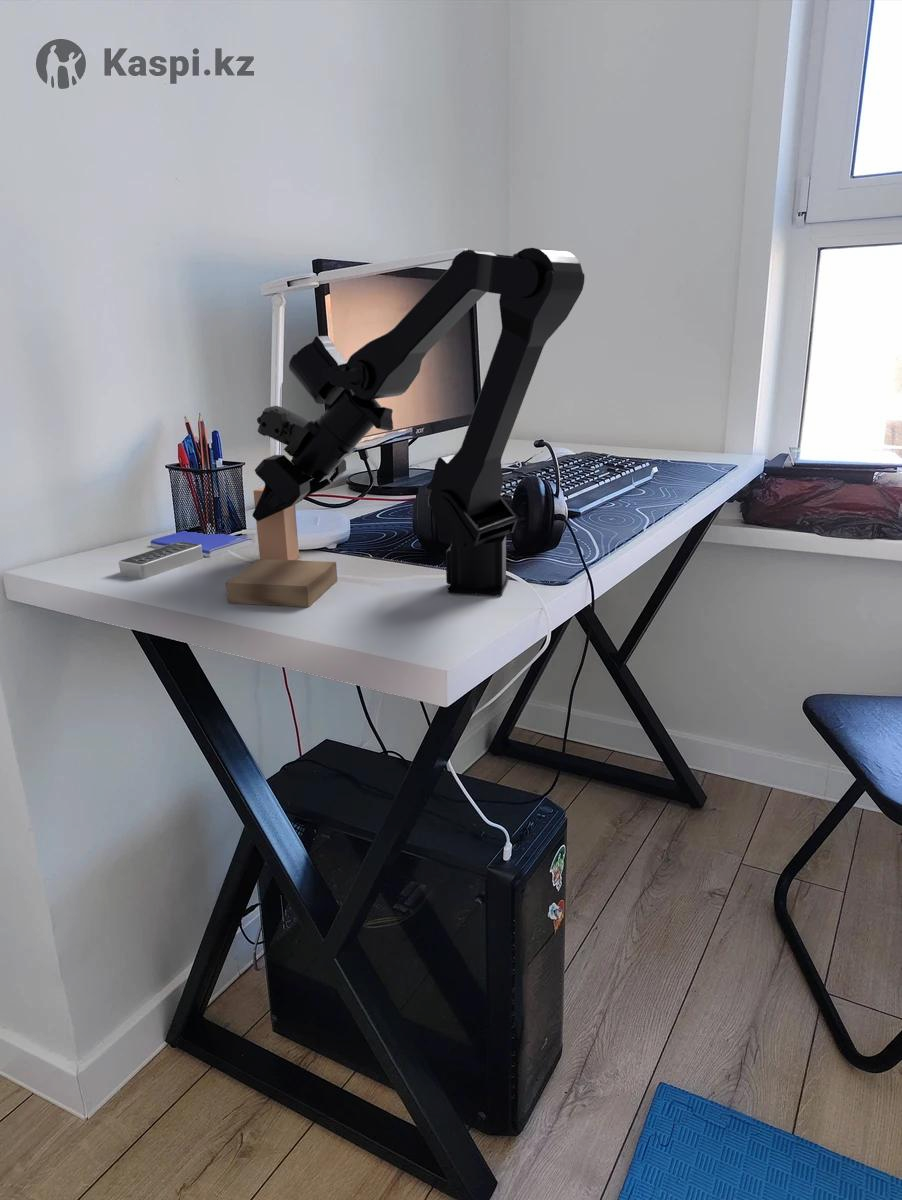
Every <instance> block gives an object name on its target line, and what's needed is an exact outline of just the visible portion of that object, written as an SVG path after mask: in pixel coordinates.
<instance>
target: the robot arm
mask: <svg viewBox="0 0 902 1200" xmlns="http://www.w3.org/2000/svg"><path fill="white" fill-rule="evenodd" d="M585 276H586V275H585V273H584V271H583V268H582V264H581V262H580V261H579V260H578V258H577V256H575V255H574V254H573V253H571V252H570V251H567V250H564V249H555V248H554V249H553V248H541V247H539V248H538V247H527V248H523V249H521V250H520V251H518V252H517V253H514V254H513V255H505V254H498V253H494V252H492V251H488V250H478V249H466V250H462V251H461V252H459V253H458V254H456V255H455V256H454V258H453V260H452V262H451V265H450V266H449V267H448V268H447V269H446V271H444V273H442V275H441V276H440V277H439V278H438V279H437V280H436V282H434V284H433V285H432V286H431V287H430V288H429V289H428V290H427V292H425V293H424V295H423V296H422V297H421V298H420V299H419V300H418V301H417V302H416V303H415V304H414V306H413V307H411V309H410V310H409V311H408V312H407V313H406V314H405V315H404V316H403V317H402V319H400V321H399V322H398V323H397V324H396V325H395V326H394V327H393V328H392V329H391V330H389V331H387V333H385V334H383V335H381V336H379V337H377V338H375V339H373V340H370V341H368V342H367V343H366V344H365V345H363V346H361V347H360V348H359V349H358V350H357V351H355V352H354V353H352V354H351V355H350V356H349V357H348V359H347V360H346V358H344V356H343V355H342V354H341V353H340V351H339V350H338V349H337V348H336V346H335V344H334V342H333V340H331V338H330V337H329V336H328V335H316V336H314V339H313V340H312V342H311V343H308V344H306V345H304V346H303V347H301V348H300V349H299V350H298V351H297V353H294V354H293V355H292V357H291V358H290V360H289V363H288V368H289V371H290V372H291V373H292V375H293V376H294V377H295V379H296V380H297V381H298V383H300V385H301V387H303V389H304V390H305V391H306V393H308V395H309V396H310V397H311V399H312V400H313V401H314V402H315V404H317V405H324V404H326V405H329V407H328V408H327V409H326V410H325V411H324V412H323V413H322V414H321V416H319V418H317V419H316V420H314V421H312V420H310V421H309V420H308V419H306V418H305V417H303V416H301V415H300V414H296V413H295V412H293V411H292V410H291V411H290V410H288V409H286V408H284V407H282V406H279V405H272V406H269V407H265V408H264V410H263V411H262V414H261V415H260V416H258V417H257V418H256V422H257V424H259V425H258V427H257V433H258V434H259V435H261V436H264V437H267V436H268V437H269V438H271V439H272V440H275V441H277V442H279V443H281V444H284V445H286V446H285V448H284V449H283V450H284V451H285V452H286V454H287V455H289V456H290V457H291V458H292V459H291V460H290V459H289V458H288V457H287V456H286V455H285V454H274V455H272V456H268V457H266V458H264V459H262V460H261V462H260V463H259V464H258V465H257V466H256V468H255V469H254V472H255V475H256V476H257V477H258V478H259V479H261V480H262V481H263V483H264V485H265V487H264V490H263V492H262V495H261V497H260V499H259V501H258V504H257V506H256V508H255V507H254V510H253V513H252V517H253V518H254V520H255V521H256V520H257V521H260V520H262V519H264V518H266V517H269V516H271V515H273V514H275V513H277V512H279V511H282V510H284V509H286V508H288V507H290V506H293V505H295V506H296V505H297V504H299V503H301V502H302V501H304V500H303V499H304V498H306V497H308V496H310V495H312V494H314V493H316V492H318V491H320V490H323V489H324V488H326V487H328V486H330V484H331V483H333V482H336V481H337V480H339V478H341V476H342V475H344V474H345V473H346V471H347V461H346V459H345V458H346V457H348V456H350V455H352V454H353V453H354V452H355V451H356V446H357V445H358V444H359V443H360V442H361V441H362V440H363V438H365V436H366V435H367V434H368V433H369V432H370V431H371V430H372V429H373V428H374V427H375V429H377V430H381V431H386V432H387V431H388V432H392V431H393V430H394V422H393V412H394V411H393V409H392V408H389V407H386V406H382V405H381V404H380V403H379V402H378V401H377V400H379V399H384V398H392V397H397V396H401V395H403V394H405V392H407V390H409V388H410V386H411V385H412V383H413V382H414V381H415V380H416V378H417V376H418V375H419V373H420V370H421V366H422V363H423V359H424V358H425V356H426V355H427V353H428V352H429V351H430V350H431V349H432V348H433V347H434V346H435V345H436V344H437V343H438V342H439V341H441V339H442V338H443V337H444V336H445V335H446V334H447V333H448V332H449V331H450V330H451V329H452V328H453V327H454V326H455V325H456V324H457V323H458V322H459V321H460V320H461V318H463V317H464V315H466V314H467V313H468V312H469V310H470V309H472V307H474V305H476V304H477V302H478V301H479V300H480V299H481V298H482V297H483V296H484V295H485V294H486V293H491V294H498V295H499V299H498V302H499V303H498V304H499V310H500V320H501V322H500V323H501V331H500V335H499V337H498V340H497V343H496V347H495V348H494V352H493V355H492V358H491V361H490V363H489V367H488V369H487V371H486V376H485V378H484V380H483V384H482V387H481V389H480V391H479V395H478V397H477V400H476V401H477V402H476V404H475V407H474V409H473V411H472V415H471V418H470V420H469V423H468V426H467V430H466V432H465V435H464V438H463V441H462V444H461V447H460V448H459V450H458V451H457V452H456V453H454V454H453V453H452V454H448V455H444V456H441V457H438V458H437V460H436V462H435V465H434V470H433V476H432V478H431V480H430V482H429V483H428V484H427V485H426V490H430V491H429V494H428V498H427V499H428V504H427V505H428V507H429V508H430V510H431V513H432V515H433V518H434V522H435V524H436V528H437V531H438V534H439V537H440V540H441V543H443V544H446V545H447V544H448V545H449V547H448V549H447V550H446V551H445V571H446V572H445V575H446V576H445V577H446V584H447V585H449V586H448V587H447V593H448V594H461V595H462V594H463V595H482V596H483V595H485V596H502V595H503V593H504V591H505V589H506V586H507V584H508V582H509V579H510V578H509V576H508V575H507V534H512V533H513V534H514V532H515V528H516V526H517V522H518V521H519V518H518V516H517V515H516V513H515V511H513V510H512V508H511V507H510V505H509V504H508V503H507V502H506V500H505V499H504V498H503V497H502V495H501V494H502V489H503V484H504V476H503V469H502V457H503V454H504V452H505V450H506V446H507V444H508V441H509V439H510V436H511V433H512V431H513V428H514V425H515V422H516V419H517V418H518V415H519V413H520V410H521V407H522V404H523V402H524V399H525V396H526V394H527V391H528V388H529V386H530V384H531V381H532V378H533V375H534V373H535V370H536V367H537V365H538V362H539V359H540V358H541V354H542V352H543V349H544V347H545V344H546V343H547V342H548V340H549V339H550V338H551V336H552V335H553V334H555V332H556V331H557V330H558V328H559V327H560V326H561V325H563V323H564V322H565V321H566V320H567V318H568V317H569V314H570V313H571V311H572V310H573V308H574V306H575V304H576V303H577V301H578V299H579V297H580V295H581V293H582V291H583V289H584V285H585ZM328 478H329V479H328ZM475 522H477V523H478V524H476V523H475Z"/></svg>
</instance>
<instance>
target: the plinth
mask: <svg viewBox="0 0 902 1200" xmlns="http://www.w3.org/2000/svg"><path fill="white" fill-rule="evenodd" d="M337 582H338V569H337V562H336V561H326V560H323V561H320V560H299V559H298V560H297V559H296V560H277V559H260V558H259V560H257V561H256V562H254V563H253V564H251V565H249V566H248V567H247V568H245V569H243V570H242V571H241V572H239V573H237V574H236V575H234V577H232V578H231V579H228V580H227V581H226V582H225V587H226V588H225V589H226V596H227V603H228V604H239V605H240V604H242V605H243V604H245V605H261V606H262V605H263V606H279V607H280V606H282V607H301V608H309V607H311V606H312V605H313V604H314V603H315V602H317V601H318V599H320V598H321V596H323V595H324V594H325V593H326V592H328V590H330V589H331V587H333V586H334V585H335V584H336V583H337Z"/></svg>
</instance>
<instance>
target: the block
mask: <svg viewBox="0 0 902 1200" xmlns="http://www.w3.org/2000/svg"><path fill="white" fill-rule="evenodd" d="M264 487H265V484H264V485H262V486H260V487H258V488H256V489H254V490H253V501H254V502H253V503H254V509H255V508H256V506H257V504H258V501H259V499H260V497H261V495H262V492H263V490H264ZM255 522H256V533H257V542H258V543H257V544H258V551H259V552H258V553H259V560H260V559H277V560H297V559H299V558H300V551H299V538H298V537H299V536H298V525H297V524H298V523H297V513H296V504H295V505H293V506H290V507H288V508H286V509H284V510H282V511H279V512H277V513H275V514H273V515H271V516H269V517H266V518H264V519H262V520H260V521H257V520H256V519H255Z"/></svg>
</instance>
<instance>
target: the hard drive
mask: <svg viewBox="0 0 902 1200" xmlns="http://www.w3.org/2000/svg"><path fill="white" fill-rule="evenodd" d="M217 533H218V534H209V535H208V534H203V533H197V532H187V531H185V530H182V531H178V532H175V533H171V534H167V535H164V536H160V537H157V538H153V539H151V540H150V546H151V547H153V548H156V549H158V548H161V547H164V546H167V545H170V544H173V543H177V542H186V543H193V544H200V545H202V554H203V557H206V558H212V557H216V556H218V555H219V556H220V555H221V554H225V553H228V552H229V551H228V550H232V551H234V550H238V549H240V548H244V547H247V546H249V545H253V541H252V538H250V537H243V536H238V535H231V534H225V533H220V534H219V532H217Z"/></svg>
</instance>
